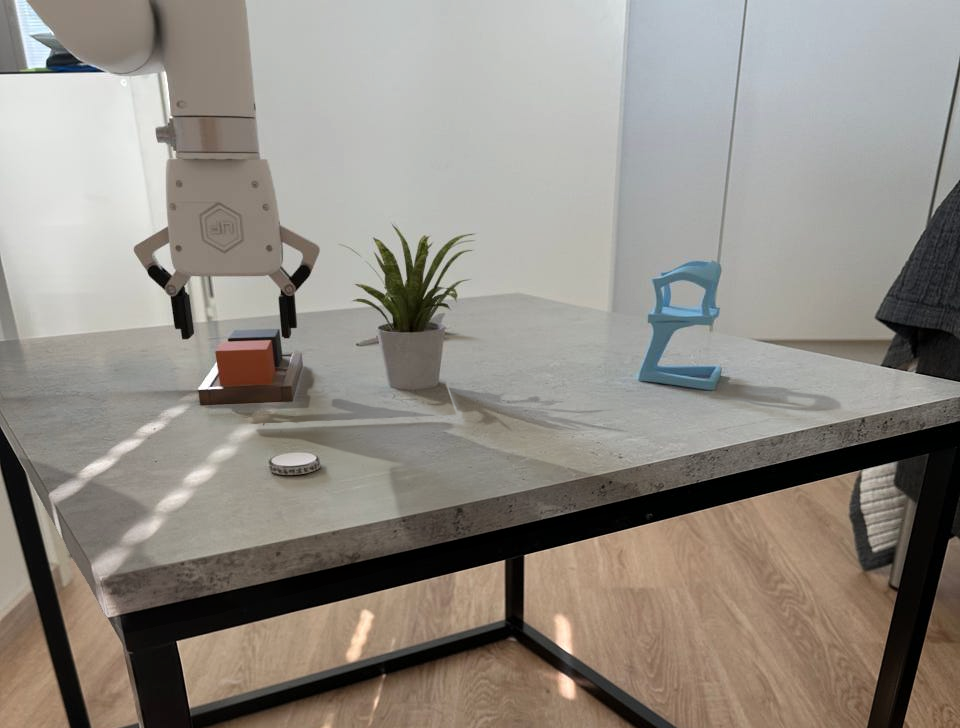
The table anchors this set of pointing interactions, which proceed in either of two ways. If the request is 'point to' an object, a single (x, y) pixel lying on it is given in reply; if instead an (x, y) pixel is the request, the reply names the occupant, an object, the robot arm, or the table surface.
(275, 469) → the white round disc
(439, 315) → the toy airplane
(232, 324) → the table surface
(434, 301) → the house plant
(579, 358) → the table surface
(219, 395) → the frame
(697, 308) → the chair
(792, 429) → the table surface
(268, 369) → the terracotta cube
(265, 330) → the black block
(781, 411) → the table surface
